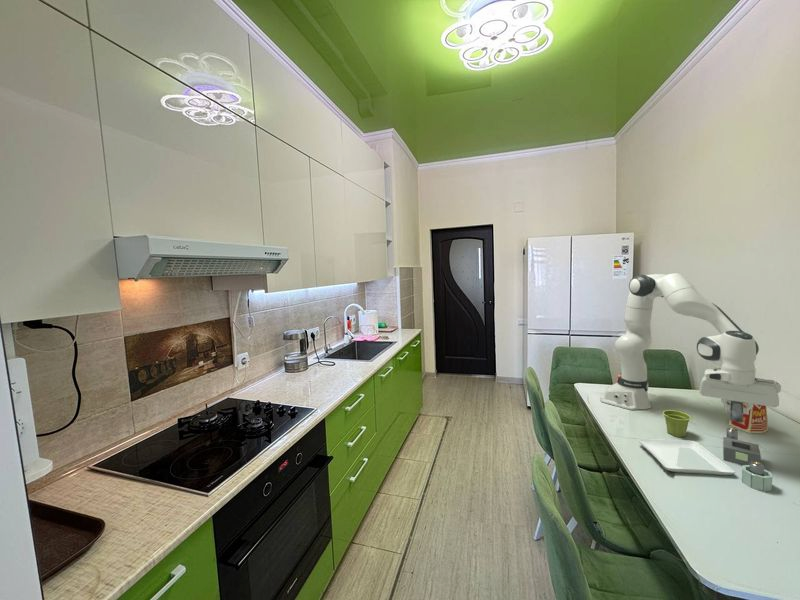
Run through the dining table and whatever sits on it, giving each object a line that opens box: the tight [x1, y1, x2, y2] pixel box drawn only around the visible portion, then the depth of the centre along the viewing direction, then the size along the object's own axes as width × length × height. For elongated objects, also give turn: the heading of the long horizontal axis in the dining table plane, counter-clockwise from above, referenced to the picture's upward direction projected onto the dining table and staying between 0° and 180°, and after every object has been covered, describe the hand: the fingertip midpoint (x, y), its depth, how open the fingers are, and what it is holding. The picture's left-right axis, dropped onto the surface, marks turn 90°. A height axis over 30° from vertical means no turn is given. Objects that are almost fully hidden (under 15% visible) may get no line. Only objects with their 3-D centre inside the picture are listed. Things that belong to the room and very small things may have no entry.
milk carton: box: [728, 402, 769, 434], centre depth 141 cm, size 9×9×20 cm
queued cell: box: [725, 427, 739, 440], centre depth 129 cm, size 3×3×8 cm
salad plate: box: [637, 438, 736, 476], centre depth 123 cm, size 21×21×3 cm
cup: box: [741, 465, 773, 492], centre depth 107 cm, size 7×7×5 cm
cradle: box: [722, 436, 762, 466], centre depth 120 cm, size 9×10×6 cm
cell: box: [729, 400, 743, 422], centre depth 119 cm, size 3×3×8 cm
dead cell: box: [750, 461, 765, 476], centre depth 107 cm, size 3×3×8 cm
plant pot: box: [662, 409, 692, 438], centre depth 141 cm, size 9×9×9 cm
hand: (736, 412), depth 119 cm, fingers closed on cell, 3 cm apart
